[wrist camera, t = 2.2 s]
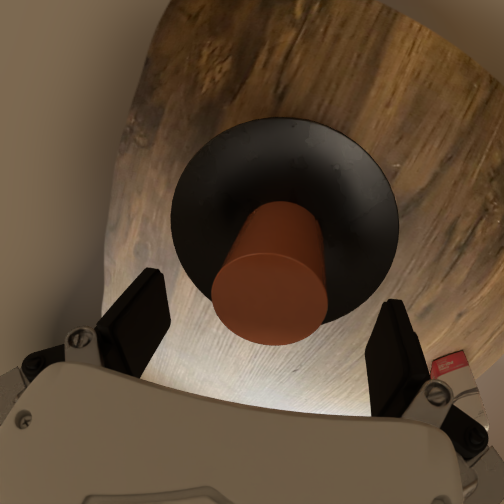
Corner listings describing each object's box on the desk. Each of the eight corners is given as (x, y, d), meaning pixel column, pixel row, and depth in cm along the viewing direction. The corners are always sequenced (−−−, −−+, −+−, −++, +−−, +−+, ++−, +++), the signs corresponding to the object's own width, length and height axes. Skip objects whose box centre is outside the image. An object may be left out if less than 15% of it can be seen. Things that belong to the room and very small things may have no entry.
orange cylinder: (242, 197, 16) (208, 245, 11) (328, 206, 15) (338, 261, 10) (240, 270, 18) (213, 337, 13) (316, 279, 17) (316, 351, 12)
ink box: (431, 359, 28) (452, 440, 18) (464, 348, 26) (492, 424, 16) (426, 394, 31) (439, 464, 21) (455, 385, 30) (472, 452, 20)
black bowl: (205, 112, 20) (164, 116, 14) (386, 128, 18) (419, 138, 12) (208, 266, 27) (181, 313, 21) (356, 284, 25) (366, 338, 19)
